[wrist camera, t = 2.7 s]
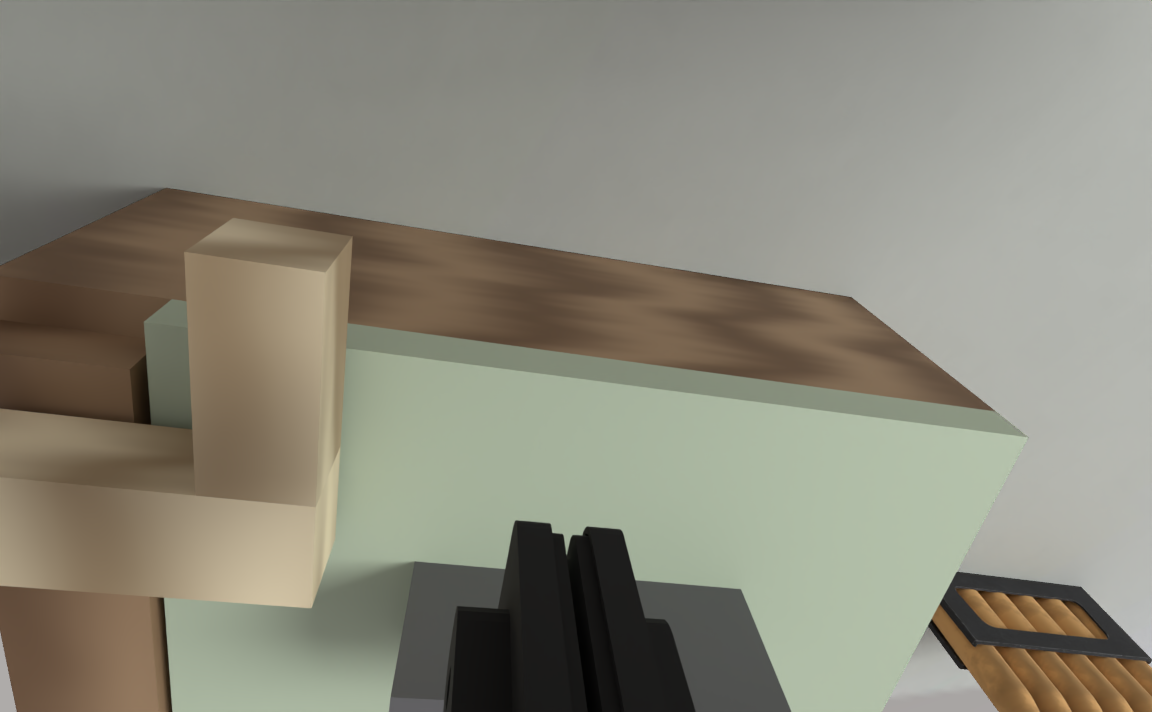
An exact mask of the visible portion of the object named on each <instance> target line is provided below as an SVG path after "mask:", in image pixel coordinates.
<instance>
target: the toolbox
mask: <svg viewBox="0 0 1152 712" xmlns="http://www.w3.org/2000/svg"><path fill="white" fill-rule="evenodd" d="M232 218H237V219H244V220H250V221H256V222H263V223H269V224H276V225H282V226H289V227H295V228H302V229H308V230H314V231H321V232H327V233H334V234H340V235H347V236H353V238H352V255H351V273H350V290H349V308H348V323H350V324H357V325H365V326H372V327H379V328H387V329H394V330H401V331H409V332H416V333H423V334H431V335H438V336H445V337H453V338H460V339H467V340H475V341H482V342H489V343H497V344H504V345H511V346H519V347H526V348H533V349H541V350H548V351H555V352H563V353H570V354H577V355H585V356H592V357H599V358H607V359H614V360H622V361H629V362H636V363H644V364H651V365H658V366H666V367H673V368H680V369H688V370H695V371H702V372H710V373H717V374H724V375H732V376H739V377H746V378H754V379H761V380H768V381H776V382H783V383H790V384H798V385H805V386H812V387H820V388H827V389H834V390H842V391H849V392H856V393H864V394H871V395H879V396H886V397H893V398H901V399H908V400H915V401H923V402H930V403H937V404H945V405H952V406H959V407H967V408H974V409H981V410H989V411H995V410H993V409H992V408H991V407H989V406H988V405H987V404H986V403H984V402H983V401H982V400H981V399H979V398H978V397H977V396H976V395H974V394H973V393H972V392H971V391H969V390H968V389H967V388H965V387H964V386H963V385H962V384H960V383H959V382H958V381H957V380H955V379H954V378H953V377H952V376H950V375H949V374H948V373H946V372H945V371H944V370H943V369H941V368H940V367H939V366H938V365H936V364H935V363H934V362H933V361H931V360H930V359H929V358H928V357H926V356H925V355H924V354H922V353H921V352H920V351H919V350H917V349H916V348H915V347H914V346H912V345H911V344H910V343H909V342H907V341H906V340H905V339H904V338H902V337H901V336H900V335H898V334H897V333H896V332H895V331H893V330H892V329H891V328H890V327H888V326H887V325H886V324H885V323H883V322H882V321H881V320H880V319H878V318H877V317H876V316H874V315H873V314H872V313H871V312H869V311H868V310H867V309H866V308H864V307H863V306H862V305H861V304H859V303H858V302H857V301H856V300H854V299H853V298H852V297H846V296H840V295H834V294H828V293H821V292H815V291H809V290H803V289H796V288H790V287H784V286H777V285H771V284H765V283H759V282H752V281H746V280H740V279H734V278H727V277H721V276H715V275H709V274H702V273H696V272H690V271H683V270H677V269H671V268H665V267H658V266H652V265H646V264H640V263H633V262H627V261H621V260H614V259H608V258H602V257H596V256H589V255H583V254H577V253H571V252H564V251H558V250H552V249H546V248H539V247H533V246H527V245H520V244H514V243H508V242H502V241H495V240H489V239H483V238H477V237H470V236H464V235H458V234H452V233H445V232H439V231H433V230H426V229H420V228H414V227H408V226H401V225H395V224H389V223H383V222H376V221H370V220H364V219H357V218H351V217H345V216H339V215H332V214H326V213H320V212H314V211H307V210H301V209H295V208H289V207H282V206H276V205H270V204H263V203H257V202H251V201H245V200H238V199H232V198H226V197H220V196H213V195H207V194H201V193H195V192H188V191H182V190H176V189H169V188H165V189H163V190H161V191H159V192H156V193H154V194H152V195H150V196H148V197H146V198H144V199H141V200H139V201H137V202H135V203H133V204H131V205H129V206H127V207H124V208H122V209H120V210H118V211H116V212H114V213H112V214H110V215H107V216H105V217H103V218H101V219H99V220H97V221H95V222H92V223H90V224H88V225H86V226H84V227H82V228H80V229H78V230H75V231H73V232H71V233H69V234H67V235H65V236H63V237H61V238H58V239H56V240H54V241H52V242H50V243H48V244H46V245H43V246H41V247H39V248H37V249H35V250H33V251H31V252H29V253H26V254H24V255H22V256H20V257H18V258H16V259H14V260H11V261H9V262H7V263H5V264H3V265H1V266H0V409H9V410H18V411H28V412H37V413H46V414H55V415H64V416H73V417H83V418H92V419H101V420H110V421H119V422H128V423H138V424H147V425H151V414H150V400H149V386H148V373H147V359H146V346H145V332H144V321H145V320H147V319H148V318H149V317H150V316H152V315H153V314H154V313H155V312H157V311H158V310H159V309H160V308H162V307H163V306H164V305H165V304H167V303H168V302H169V301H170V300H171V299H174V300H181V301H186V280H185V258H184V252H185V251H186V250H188V249H189V248H190V247H192V246H193V245H195V244H196V243H198V242H199V241H201V240H202V239H203V238H205V237H206V236H208V235H209V234H211V233H212V232H214V231H215V230H216V229H218V228H219V227H221V226H222V225H224V224H225V223H227V222H228V221H229V220H231V219H232ZM0 632H1V637H2V642H3V647H4V651H5V657H6V662H7V666H8V671H9V676H10V681H11V686H12V691H13V695H14V700H15V705H16V709H17V712H172V699H171V686H170V672H169V658H168V645H167V631H166V618H165V604H164V598H162V597H148V596H135V595H121V594H107V593H94V592H80V591H66V590H52V589H39V588H25V587H11V586H0Z"/></svg>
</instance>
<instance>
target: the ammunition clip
mask: <svg viewBox="0 0 1152 712" xmlns="http://www.w3.org/2000/svg"><path fill="white" fill-rule="evenodd" d="M928 626H929V628H930V629H931V631H932V632H933V633H934V635H935V636H936V637H937V639H938V640H939V641H940V643H941V644H942V646H943V647H944V648H945V650H946V651H947V652H948V654H949V655H950V656H951V658H952V659H953V661H954V662H955V663H956V665H957V666H958V667H959V668H960V669H967V670H969V671H970V673H971V674H972V676H973V677H974V678H975V680H976V681H977V683H978V684H979V685H980V687H981V688H982V689H983V691H984V692H985V694H986V695H987V696H988V698H989V699H990V701H991V702H992V703H993V705H994V706H995V707H996V709H997V710H998V711H999V712H1152V668H1151V667H1150V666H1149V665H1148V664H1150V663H1151V661H1152V659H1151V658H1150V657H1149V656H1148V655H1147V654H1146V653H1145V652H1144V651H1143V650H1142V649H1141V648H1140V647H1139V646H1138V645H1137V644H1136V643H1135V642H1134V641H1133V640H1132V639H1131V638H1130V637H1129V635H1128V634H1127V633H1126V632H1125V631H1124V630H1123V629H1122V628H1121V627H1120V626H1119V625H1118V624H1117V623H1116V622H1115V621H1114V620H1113V619H1112V618H1111V617H1110V616H1109V615H1108V614H1107V613H1106V612H1105V611H1104V610H1103V609H1102V608H1101V607H1100V606H1099V605H1098V604H1097V603H1096V602H1095V601H1094V600H1093V599H1092V598H1091V597H1090V596H1089V595H1088V594H1087V592H1086V591H1085V590H1084V589H1083V588H1082V587H1078V586H1069V585H1061V584H1053V583H1045V582H1037V581H1028V580H1020V579H1012V578H1004V577H995V576H987V575H979V574H971V573H963V572H956V574H955V576H954V578H953V580H952V582H951V583H950V585H949V587H948V589H947V591H946V593H945V595H944V597H943V598H942V600H941V602H940V604H939V606H938V608H937V610H936V612H935V613H934V615H933V617H932V619H931V621H930V623H929V625H928Z"/></svg>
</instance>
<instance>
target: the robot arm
mask: <svg viewBox="0 0 1152 712" xmlns="http://www.w3.org/2000/svg"><path fill="white" fill-rule="evenodd" d="M443 712H696V711H695V708H694V704H693V701H692V697H691V694H690V691H689V687H688V684H687V680H686V677H685V674H684V670H683V667H682V664H681V660H680V657H679V653H678V650H677V647H676V643H675V640H674V636H673V633H672V630H671V628H670V626H669V623H668V622H667V621H666V620H665V619H651V618H645V616H644V612H643V608H642V604H641V600H640V597H639V593H638V589H637V585H636V581H635V577H634V573H633V569H632V565H631V561H630V557H629V554H628V550H627V546H626V542H625V538H624V534H623V532H622V530H620V529H612V528H600V527H589V526H587V527H585V529H584V532H583V535H572V537H571V539H570V543H569V547H568V551H567V555H566V548H565V541H564V535H563V534H559V533H552V527H551V524H550V523H542V522H531V521H519V520H516V521H515V522H514V526H513V530H512V535H511V541H510V546H509V552H508V557H507V562H506V568H505V573H504V578H503V584H502V589H501V594H500V600H499V605H498V609H495V608H480V607H464V606H457V608H456V612H455V618H454V625H453V631H452V637H451V644H450V651H449V659H448V667H447V676H446V686H445V696H444V708H443Z"/></svg>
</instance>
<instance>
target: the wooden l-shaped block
mask: <svg viewBox="0 0 1152 712" xmlns="http://www.w3.org/2000/svg"><path fill="white" fill-rule="evenodd" d="M352 238H353V236H347V235H340V234H334V233H327V232H321V231H314V230H308V229H302V228H295V227H289V226H282V225H276V224H269V223H263V222H256V221H250V220H244V219H237V218H232V219H231V220H229V221H228V222H227V223H225V224H224V225H222V226H221V227H219V228H218V229H216V230H215V231H214V232H212V233H211V234H209V235H208V236H206V237H205V238H203V239H202V240H201V241H199V242H198V243H196V244H195V245H193V246H192V247H190V248H189V249H188V250H186V251H185V252H184V258H185V280H186V302H187V324H188V346H189V368H190V390H191V412H192V429H183V428H174V427H165V426H156V425H147V424H138V423H128V422H119V421H110V420H101V419H92V418H83V417H73V416H64V415H55V414H46V413H37V412H28V411H18V410H9V409H0V586H11V587H25V588H39V589H52V590H66V591H80V592H94V593H107V594H121V595H135V596H148V597H162V598H176V599H190V600H203V601H217V602H231V603H244V604H258V605H272V606H286V607H299V608H312V605H313V603H314V600H315V597H316V594H317V591H318V588H319V585H320V582H321V579H322V576H323V573H324V570H325V567H326V564H327V561H328V558H329V556H330V553H331V550H332V547H333V544H334V541H335V534H336V516H337V499H338V482H339V464H340V447H341V429H342V412H343V395H344V377H345V360H346V342H347V325H348V308H349V290H350V273H351V255H352Z"/></svg>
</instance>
